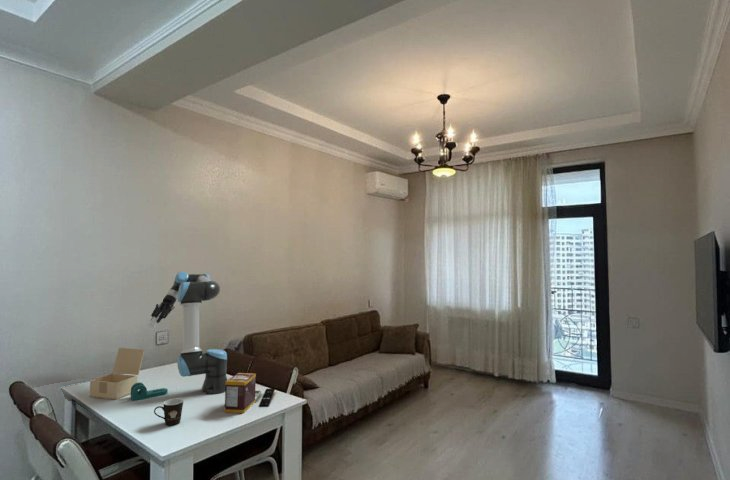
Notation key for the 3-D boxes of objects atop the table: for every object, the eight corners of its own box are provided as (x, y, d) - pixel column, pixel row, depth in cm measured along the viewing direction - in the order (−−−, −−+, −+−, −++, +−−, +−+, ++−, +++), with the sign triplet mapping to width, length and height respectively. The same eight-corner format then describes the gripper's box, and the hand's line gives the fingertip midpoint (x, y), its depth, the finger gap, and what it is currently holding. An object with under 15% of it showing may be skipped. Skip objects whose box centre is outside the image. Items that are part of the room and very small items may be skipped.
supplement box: (255, 402, 210) (256, 373, 211) (243, 413, 194) (244, 382, 195) (237, 401, 211) (238, 372, 212) (224, 412, 196) (225, 381, 196)
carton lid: (143, 349, 229) (144, 349, 230) (118, 347, 233) (119, 347, 234) (137, 375, 225) (138, 375, 225) (112, 372, 229) (113, 372, 229)
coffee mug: (185, 419, 186) (186, 398, 187) (177, 427, 177) (178, 405, 178) (161, 419, 186) (162, 398, 186) (152, 427, 177) (153, 405, 178)
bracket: (132, 401, 209) (133, 386, 209) (130, 398, 214) (131, 383, 215) (168, 394, 220) (169, 380, 221) (165, 391, 226) (166, 377, 226)
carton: (115, 400, 210) (116, 383, 211) (89, 396, 214) (89, 380, 215) (136, 391, 224) (137, 375, 224) (111, 388, 228) (112, 373, 228)
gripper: (183, 301, 264) (164, 330, 247) (164, 300, 268) (144, 329, 250) (178, 294, 259) (158, 323, 242) (158, 293, 263) (138, 322, 246)
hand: (151, 326), depth 246 cm, fingers open, 2 cm apart
